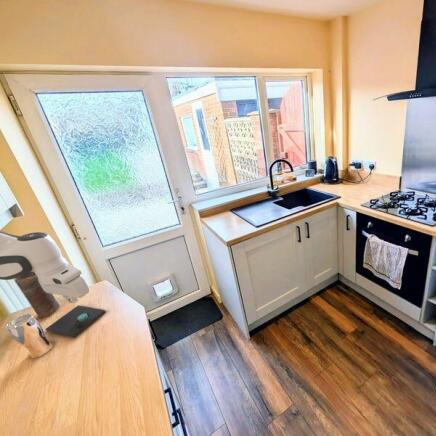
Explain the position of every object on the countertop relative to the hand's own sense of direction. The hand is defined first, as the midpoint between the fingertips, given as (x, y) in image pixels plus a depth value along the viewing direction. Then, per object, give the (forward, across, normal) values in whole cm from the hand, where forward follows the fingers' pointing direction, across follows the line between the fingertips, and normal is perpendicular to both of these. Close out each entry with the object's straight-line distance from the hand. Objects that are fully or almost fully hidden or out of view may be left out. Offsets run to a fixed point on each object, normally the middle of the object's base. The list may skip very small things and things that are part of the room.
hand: (73, 301), depth 95 cm
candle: (+12, -26, +2) cm, 28 cm away
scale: (+12, -6, 0) cm, 13 cm away
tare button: (+9, 0, 0) cm, 9 cm away
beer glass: (+12, -5, -13) cm, 18 cm away
